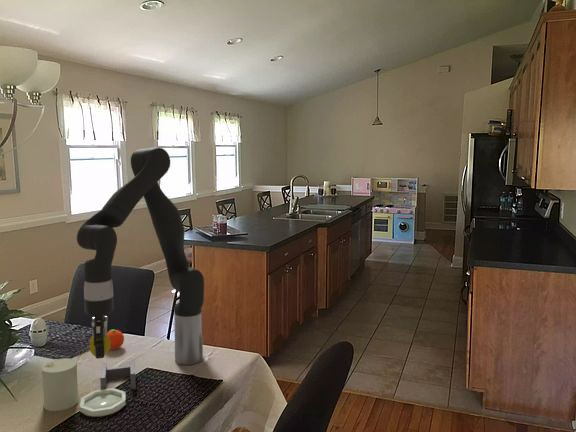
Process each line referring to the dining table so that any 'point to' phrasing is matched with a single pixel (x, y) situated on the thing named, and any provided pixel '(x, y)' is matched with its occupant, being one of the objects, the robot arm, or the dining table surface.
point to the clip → (118, 373)
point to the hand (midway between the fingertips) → (100, 353)
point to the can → (60, 384)
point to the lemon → (106, 345)
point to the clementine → (115, 338)
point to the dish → (102, 402)
